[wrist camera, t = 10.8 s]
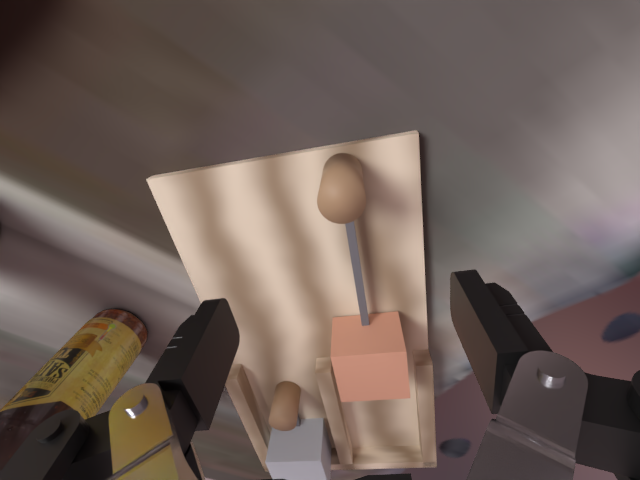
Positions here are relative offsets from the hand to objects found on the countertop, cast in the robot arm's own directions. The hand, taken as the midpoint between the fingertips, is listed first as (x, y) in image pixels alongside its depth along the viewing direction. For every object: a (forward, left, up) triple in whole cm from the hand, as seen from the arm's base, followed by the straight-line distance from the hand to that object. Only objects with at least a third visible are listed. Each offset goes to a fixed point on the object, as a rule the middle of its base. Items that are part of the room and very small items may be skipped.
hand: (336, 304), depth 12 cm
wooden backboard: (-5, -18, -17) cm, 25 cm away
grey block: (-10, -30, -16) cm, 35 cm away
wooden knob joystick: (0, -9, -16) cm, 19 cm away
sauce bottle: (-27, -14, -17) cm, 35 cm away
